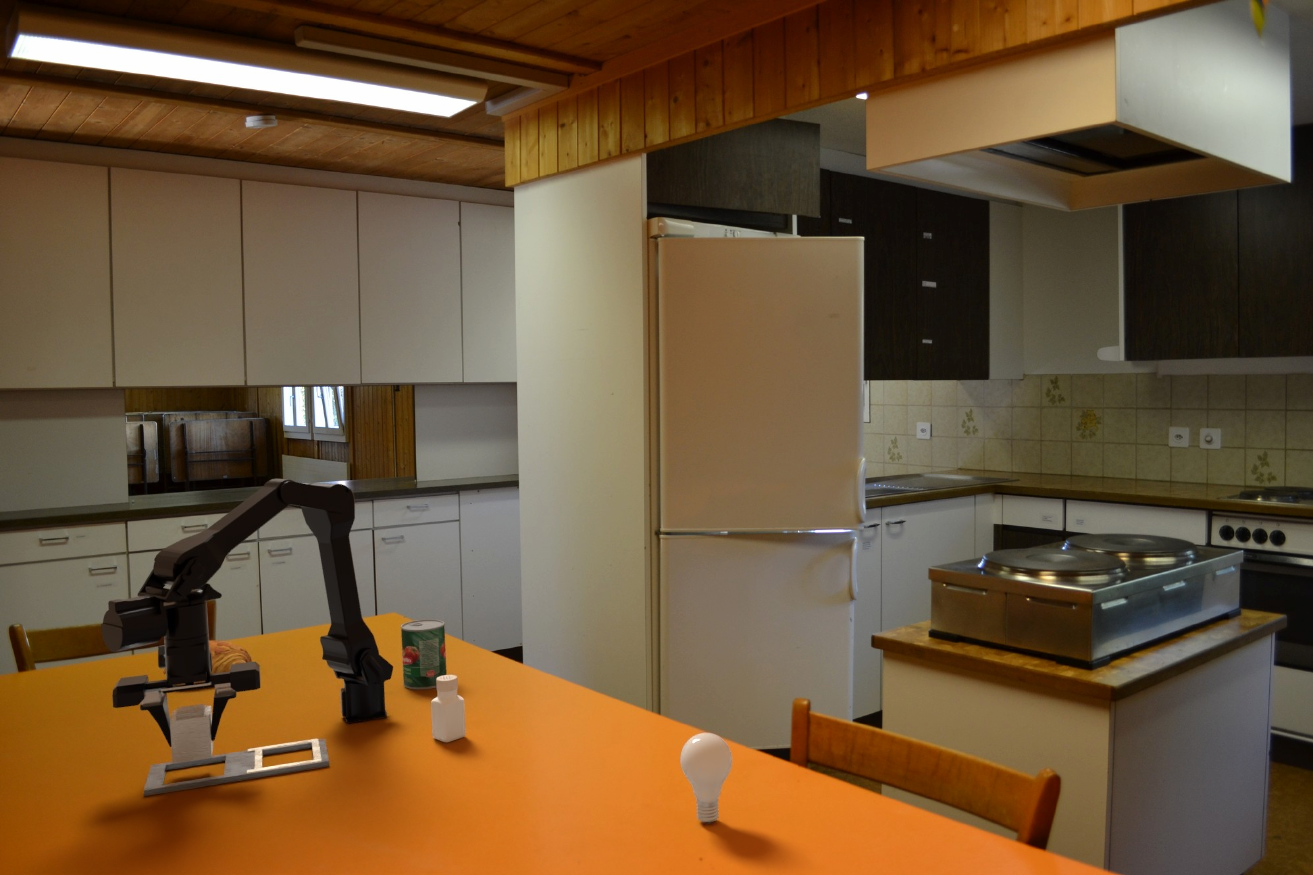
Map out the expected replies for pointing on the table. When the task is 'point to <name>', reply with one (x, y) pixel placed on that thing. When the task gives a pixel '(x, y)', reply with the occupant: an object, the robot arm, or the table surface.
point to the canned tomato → (423, 653)
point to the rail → (239, 766)
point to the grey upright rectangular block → (191, 733)
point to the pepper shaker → (448, 710)
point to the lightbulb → (706, 771)
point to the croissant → (225, 656)
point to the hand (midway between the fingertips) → (192, 742)
